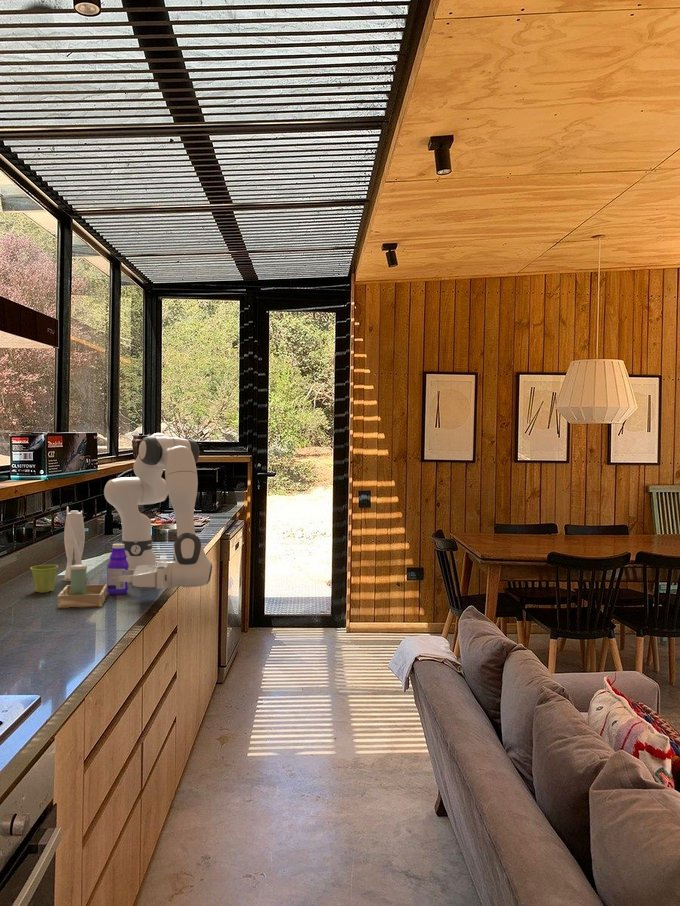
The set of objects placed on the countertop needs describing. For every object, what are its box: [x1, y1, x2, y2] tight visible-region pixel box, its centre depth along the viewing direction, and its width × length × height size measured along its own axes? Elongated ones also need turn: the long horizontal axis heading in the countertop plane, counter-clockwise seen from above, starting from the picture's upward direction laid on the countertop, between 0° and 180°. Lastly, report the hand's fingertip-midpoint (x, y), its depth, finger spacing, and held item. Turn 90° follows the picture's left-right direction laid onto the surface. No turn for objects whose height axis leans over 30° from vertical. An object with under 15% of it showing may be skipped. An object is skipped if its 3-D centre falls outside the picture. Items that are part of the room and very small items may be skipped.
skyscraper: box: [60, 506, 89, 582], centre depth 299 cm, size 8×8×28 cm
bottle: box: [106, 543, 130, 595], centre depth 274 cm, size 7×6×17 cm
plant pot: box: [29, 564, 59, 594], centre depth 278 cm, size 9×9×9 cm
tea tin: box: [70, 564, 88, 595], centre depth 257 cm, size 5×5×12 cm
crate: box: [57, 583, 109, 609], centre depth 261 cm, size 18×14×4 cm
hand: (120, 575), depth 259 cm, fingers open, 8 cm apart
